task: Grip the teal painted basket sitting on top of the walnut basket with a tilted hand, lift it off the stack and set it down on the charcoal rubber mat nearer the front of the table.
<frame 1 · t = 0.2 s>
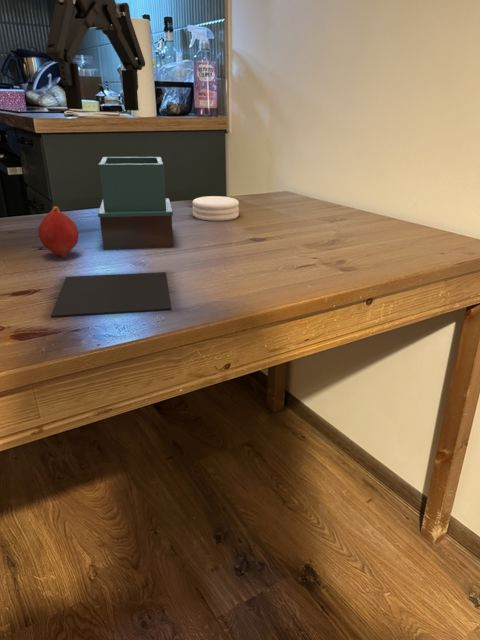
hand: (105, 110, 87), 21 cm above the table, tool pointing down, fingers open, 13 cm apart
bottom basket: (139, 240, 90), on the table
coaster: (216, 217, 108), on the table
mat: (115, 294, 66), on the table
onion: (62, 258, 80), on the table
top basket: (136, 208, 87), point 6 cm above the table, touching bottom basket
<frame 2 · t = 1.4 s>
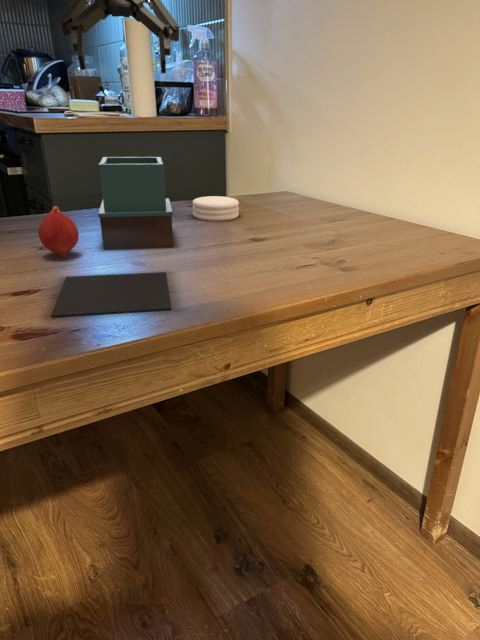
hand: (123, 65, 85), 28 cm above the table, tool tilted 45°, fingers open, 13 cm apart
nothing on the table moved.
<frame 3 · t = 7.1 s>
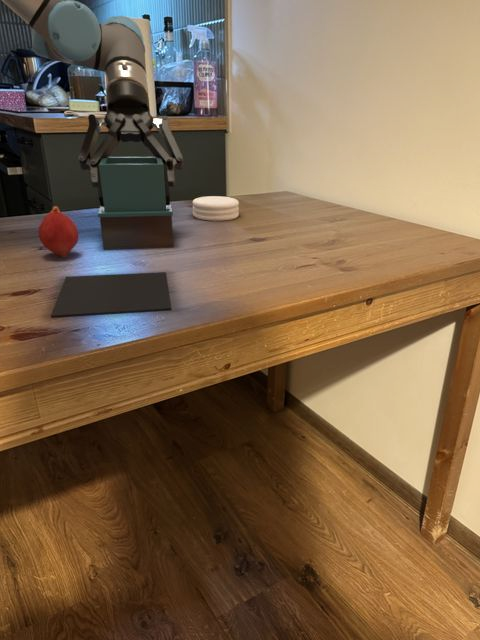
hand: (135, 201, 84), 7 cm above the table, tool tilted 45°, fingers closed on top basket, 10 cm apart
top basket: (136, 208, 87), point 6 cm above the table, touching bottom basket, gripper
everything else where it was.
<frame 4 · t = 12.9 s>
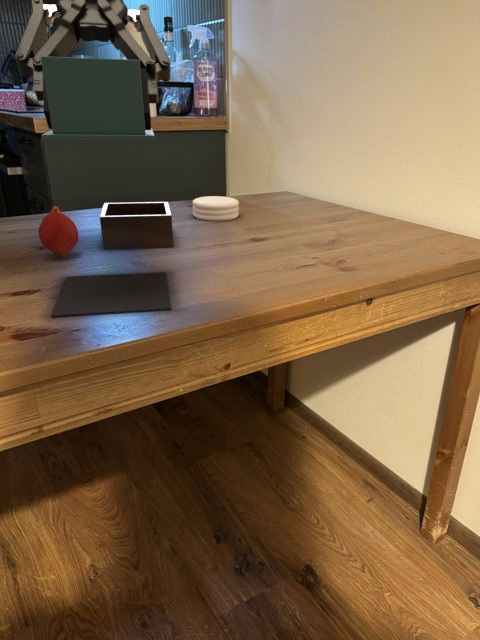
hand: (99, 121, 57), 21 cm above the table, tool tilted 45°, fingers closed on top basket, 10 cm apart
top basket: (103, 136, 60), point 19 cm above the table, touching gripper
everything else where it was.
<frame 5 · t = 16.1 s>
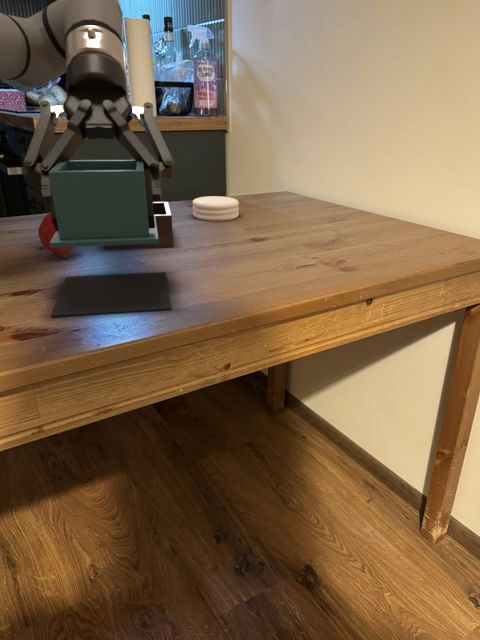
hand: (105, 223, 59), 10 cm above the table, tool tilted 45°, fingers closed on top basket, 10 cm apart
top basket: (108, 232, 62), point 8 cm above the table, touching gripper
everything else where it was.
when the fingers open (2 cm above the table, at t = 18.9 s): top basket stays where it is, resting on mat.
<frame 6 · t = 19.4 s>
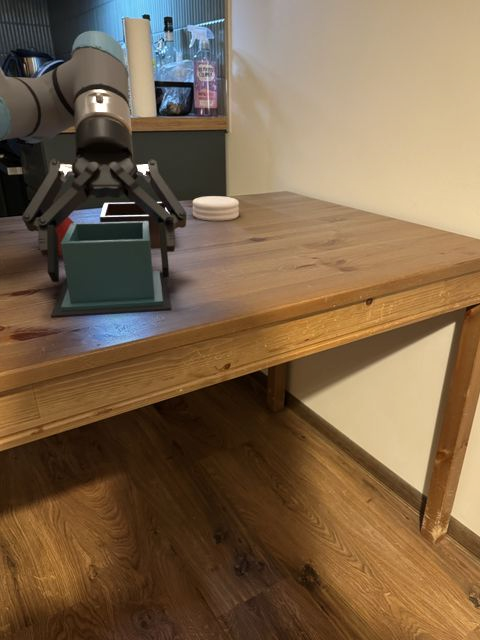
hand: (110, 275, 62), 3 cm above the table, tool tilted 45°, fingers open, 13 cm apart
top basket: (115, 291, 66), resting on mat
everything else where it was.
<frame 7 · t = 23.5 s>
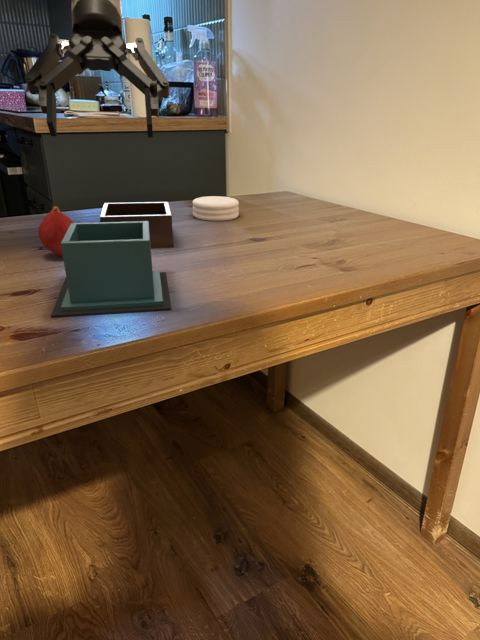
hand: (101, 130, 72), 19 cm above the table, tool tilted 45°, fingers open, 13 cm apart
nothing on the table moved.
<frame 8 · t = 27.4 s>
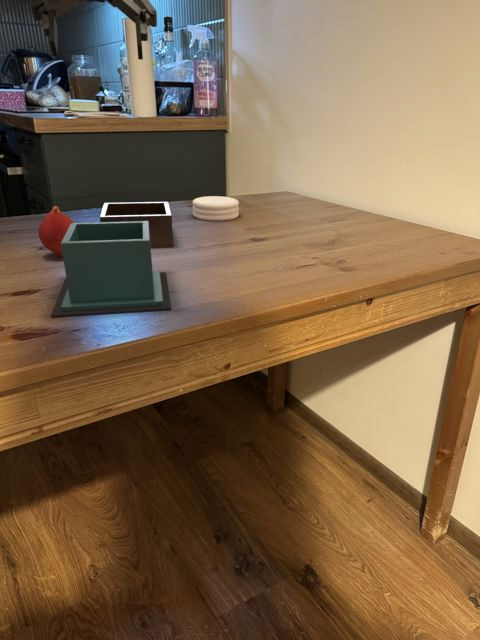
hand: (97, 51, 82), 30 cm above the table, tool tilted 45°, fingers open, 13 cm apart
nothing on the table moved.
at the end: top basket inside the target area on the mat (0.1 cm from its centre), point 0.4 cm above the mat's base; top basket tilted 0°; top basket touching mat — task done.
